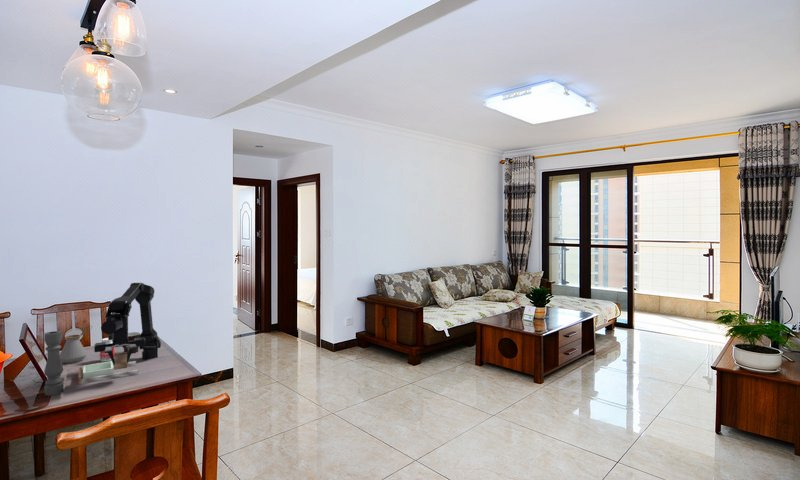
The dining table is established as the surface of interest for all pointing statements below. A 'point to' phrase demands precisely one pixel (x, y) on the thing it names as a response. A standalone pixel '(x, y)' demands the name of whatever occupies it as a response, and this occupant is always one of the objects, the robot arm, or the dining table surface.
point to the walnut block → (120, 360)
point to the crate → (98, 369)
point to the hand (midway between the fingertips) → (120, 363)
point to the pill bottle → (104, 356)
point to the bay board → (105, 377)
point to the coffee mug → (131, 338)
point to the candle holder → (53, 364)
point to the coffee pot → (73, 349)
